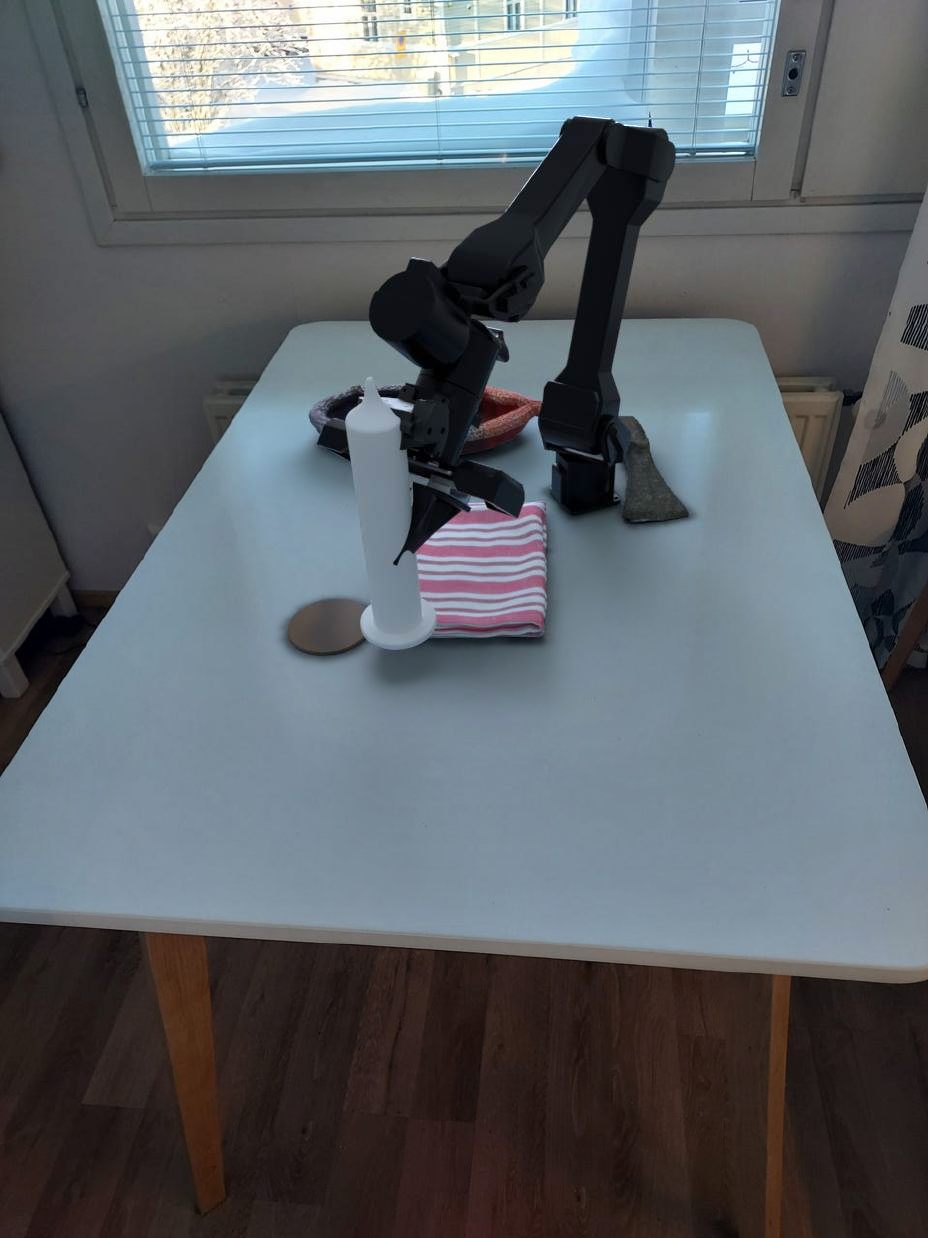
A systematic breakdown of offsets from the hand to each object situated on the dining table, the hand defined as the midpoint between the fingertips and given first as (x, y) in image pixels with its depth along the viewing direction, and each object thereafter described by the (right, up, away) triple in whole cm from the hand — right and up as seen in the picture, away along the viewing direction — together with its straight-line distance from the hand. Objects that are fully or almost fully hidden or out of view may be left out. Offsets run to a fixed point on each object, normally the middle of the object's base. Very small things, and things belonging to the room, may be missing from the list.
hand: (383, 560), depth 80 cm
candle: (+1, -6, +7) cm, 9 cm away
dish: (+2, +19, +43) cm, 47 cm away
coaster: (-7, -6, +14) cm, 17 cm away
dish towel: (+7, 0, +20) cm, 21 cm away
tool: (+29, +12, +33) cm, 46 cm away
